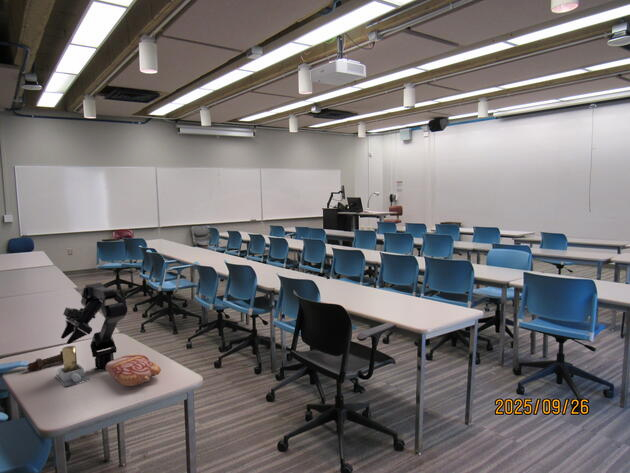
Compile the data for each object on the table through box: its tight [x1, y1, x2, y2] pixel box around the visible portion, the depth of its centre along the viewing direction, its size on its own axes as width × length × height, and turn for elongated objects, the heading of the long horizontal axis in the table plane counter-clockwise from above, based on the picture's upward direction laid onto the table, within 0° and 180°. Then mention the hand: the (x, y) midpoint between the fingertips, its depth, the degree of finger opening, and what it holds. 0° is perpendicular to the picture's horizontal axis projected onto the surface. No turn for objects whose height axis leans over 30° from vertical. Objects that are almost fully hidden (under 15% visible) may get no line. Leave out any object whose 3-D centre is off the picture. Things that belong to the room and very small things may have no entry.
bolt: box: [26, 350, 64, 372], centre depth 190 cm, size 6×5×15 cm
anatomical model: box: [105, 353, 162, 387], centre depth 177 cm, size 17×7×30 cm
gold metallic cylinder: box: [61, 345, 78, 373], centre depth 178 cm, size 5×5×12 cm
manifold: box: [55, 363, 91, 388], centre depth 177 cm, size 9×14×4 cm, turn 44°
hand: (64, 340), depth 183 cm, fingers open, 9 cm apart
